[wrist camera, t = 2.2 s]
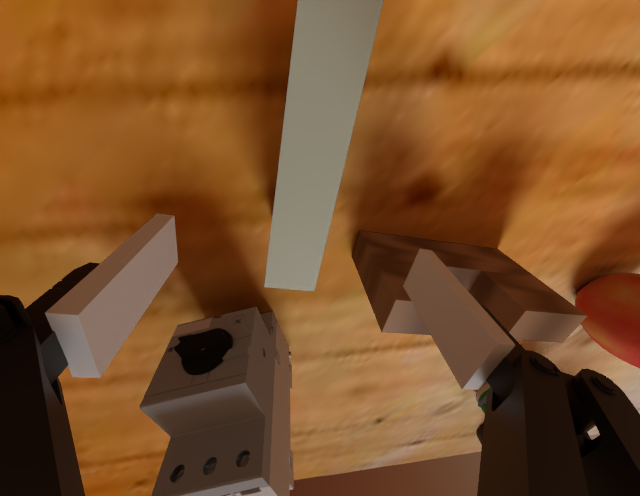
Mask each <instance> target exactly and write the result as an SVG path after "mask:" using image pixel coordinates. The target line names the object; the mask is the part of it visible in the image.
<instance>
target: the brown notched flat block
mask: <svg viewBox="0 0 640 496" xmlns="http://www.w3.org/2000/svg"><path fill="white" fill-rule="evenodd" d="M419 249H426V250H432V251H433V252H434V253H435V255H436V256H437V257H438V258H439V259H440V260H441V261H442V262H443V264H444V265H445V266H446V267H447V268H448V269H449V270H450V271H451V273H452V274H453V275H454V276H455V277H456V278H457V279H458V280H459V282H460V283H461V284H462V285H463V286H464V287H465V288H466V289H467V291H468V292H469V293H470V294H471V295H472V296H473V297H474V299H475V300H476V301H478V302H479V303H481V304H482V305H483V306H485V307H486V308H487V309H488V310H489V311H490V312H491V313H492V314H493V315H494V316H495V319H497V320H498V321H499V322H500V323H501V325H502V326H504V327H505V328H506V330H507V331H508V332H509V333H510V334H511V335H512V336H513V337H514V338H515V339H516V340H529V341H546V342H563V341H564V340H565V339H566V338H567V337H568V336H569V335H570V334H571V333H572V332H573V331H574V330H575V329H576V328H577V327H578V326H579V324H580V323H581V322H582V321H583V320H584V319H585V318H586V317H587V315H586V314H584V313H583V312H582V311H580V310H579V309H578V308H576V307H575V306H574V305H572V304H571V303H570V302H568V301H567V300H566V299H564V298H563V297H562V296H560V295H559V294H557V293H556V292H555V291H553V290H552V289H551V288H549V287H548V286H547V285H545V284H544V283H543V282H541V281H540V280H539V279H537V278H536V277H535V276H533V275H532V274H531V273H529V272H528V271H527V270H525V269H524V268H522V267H521V266H520V265H518V264H517V263H516V262H514V261H513V260H512V259H510V258H509V257H508V256H506V255H505V254H504V253H502V252H501V251H500V250H498V249H493V248H486V247H478V246H471V245H463V244H456V243H449V242H441V241H434V240H426V239H419V238H411V237H404V236H397V235H389V234H382V233H374V232H367V231H359V234H358V237H357V240H356V244H355V247H354V250H353V254H352V258H353V261H354V263H355V266H356V268H357V271H358V273H359V276H360V278H361V281H362V284H363V286H364V289H365V291H366V294H367V296H368V299H369V301H370V304H371V306H372V309H373V311H374V314H375V316H376V319H377V321H378V324H379V327H380V329H381V332H387V333H405V334H423V335H431V334H430V332H429V331H428V329H427V327H426V325H425V324H424V322H423V320H422V318H421V317H420V315H419V313H418V311H417V310H416V308H415V306H414V305H413V303H412V301H411V299H410V298H409V296H408V294H407V292H406V291H405V289H404V287H403V285H404V283H405V281H406V278H407V276H408V274H409V272H410V269H411V267H412V265H413V263H414V260H415V258H416V256H417V254H418V252H419Z"/></svg>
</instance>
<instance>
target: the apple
mask: <svg viewBox="0 0 640 496" xmlns="http://www.w3.org/2000/svg"><path fill="white" fill-rule="evenodd" d="M575 306H576V308H578V309H579V310H580V311H582V312H583V313H584V314H586V315H587V317H586V318H585V319H584V320H583V321H582V322H581V325H582V326H583V328H584V329H585V331H586V332H587V333H588V335H589V336H590V337H591V338H592V339H593V340H594V341H595V342H596V343H598V344H599V345H600V346H601V347H602V348H604V349H605V350H607V351H608V352H610V353H611V354H613V355H614V356H616V357H618V358H620V359H621V360H623V361H625V362H627V363H629V364H631V365H634V366H636V367H638V368H640V274H635V273H615V274H610V275H606V276H603V277H600V278H598V279H595V280H593V281H592V282H590V283H588V284H587V285H586V286H584V287H583V288H582V289H581V290H580V291H579V292H578V293H577V295H576V299H575Z"/></svg>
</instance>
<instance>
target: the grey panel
mask: <svg viewBox="0 0 640 496" xmlns="http://www.w3.org/2000/svg"><path fill="white" fill-rule="evenodd" d="M383 2H384V0H298V3H297V11H296V20H295V28H294V37H293V45H292V54H291V62H290V71H289V80H288V88H287V97H286V105H285V114H284V122H283V131H282V139H281V148H280V156H279V165H278V173H277V182H276V191H275V199H274V208H273V216H272V225H271V233H270V242H269V250H268V259H267V267H266V276H265V284H264V287H268V288H280V289H292V290H304V291H315V286H316V282H317V278H318V274H319V270H320V266H321V261H322V257H323V253H324V249H325V245H326V240H327V236H328V232H329V228H330V224H331V219H332V215H333V211H334V207H335V203H336V199H337V194H338V190H339V186H340V182H341V178H342V173H343V169H344V165H345V161H346V157H347V153H348V148H349V144H350V140H351V136H352V132H353V127H354V123H355V119H356V115H357V111H358V106H359V102H360V98H361V94H362V90H363V86H364V81H365V77H366V73H367V69H368V65H369V60H370V56H371V52H372V48H373V44H374V39H375V35H376V31H377V27H378V23H379V19H380V14H381V10H382V6H383Z"/></svg>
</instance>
